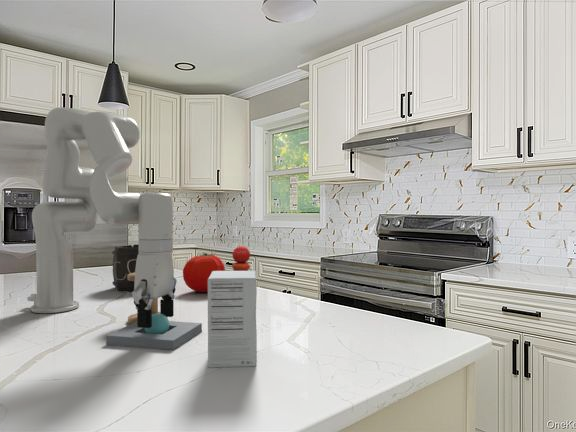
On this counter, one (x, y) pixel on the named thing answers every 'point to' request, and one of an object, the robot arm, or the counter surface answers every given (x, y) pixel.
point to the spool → (153, 306)
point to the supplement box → (232, 319)
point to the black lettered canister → (124, 266)
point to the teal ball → (158, 324)
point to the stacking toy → (241, 259)
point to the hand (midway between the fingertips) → (156, 321)
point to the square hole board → (154, 336)
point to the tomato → (201, 271)
